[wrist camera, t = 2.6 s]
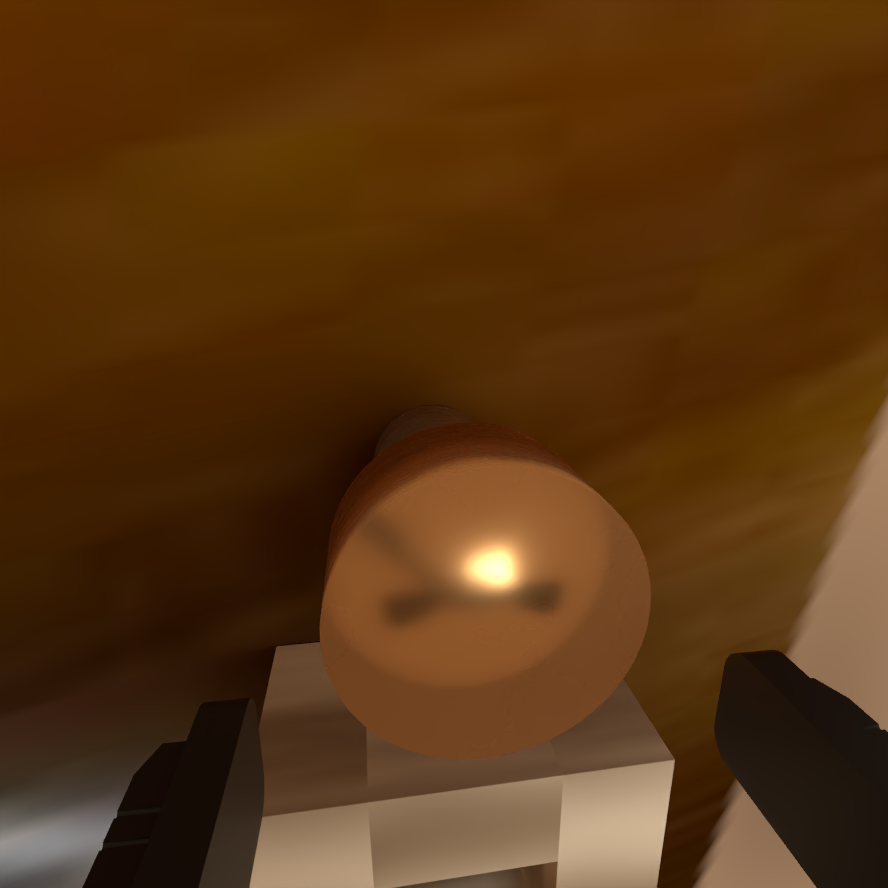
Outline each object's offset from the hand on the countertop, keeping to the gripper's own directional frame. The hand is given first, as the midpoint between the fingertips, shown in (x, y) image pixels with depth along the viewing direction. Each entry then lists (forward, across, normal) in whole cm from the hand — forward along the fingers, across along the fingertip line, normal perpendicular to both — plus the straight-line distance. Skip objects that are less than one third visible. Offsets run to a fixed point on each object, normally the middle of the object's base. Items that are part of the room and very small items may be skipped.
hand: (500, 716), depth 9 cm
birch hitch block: (+11, 0, +12) cm, 17 cm away
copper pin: (+11, 0, -1) cm, 11 cm away
